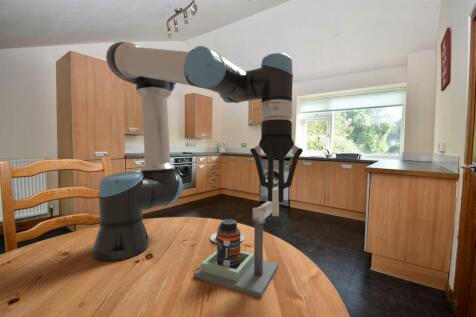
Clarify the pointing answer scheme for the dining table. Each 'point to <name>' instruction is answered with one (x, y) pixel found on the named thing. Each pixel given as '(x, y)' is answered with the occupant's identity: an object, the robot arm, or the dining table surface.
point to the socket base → (241, 269)
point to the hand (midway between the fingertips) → (275, 214)
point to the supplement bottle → (228, 244)
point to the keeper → (262, 212)
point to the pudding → (217, 232)
